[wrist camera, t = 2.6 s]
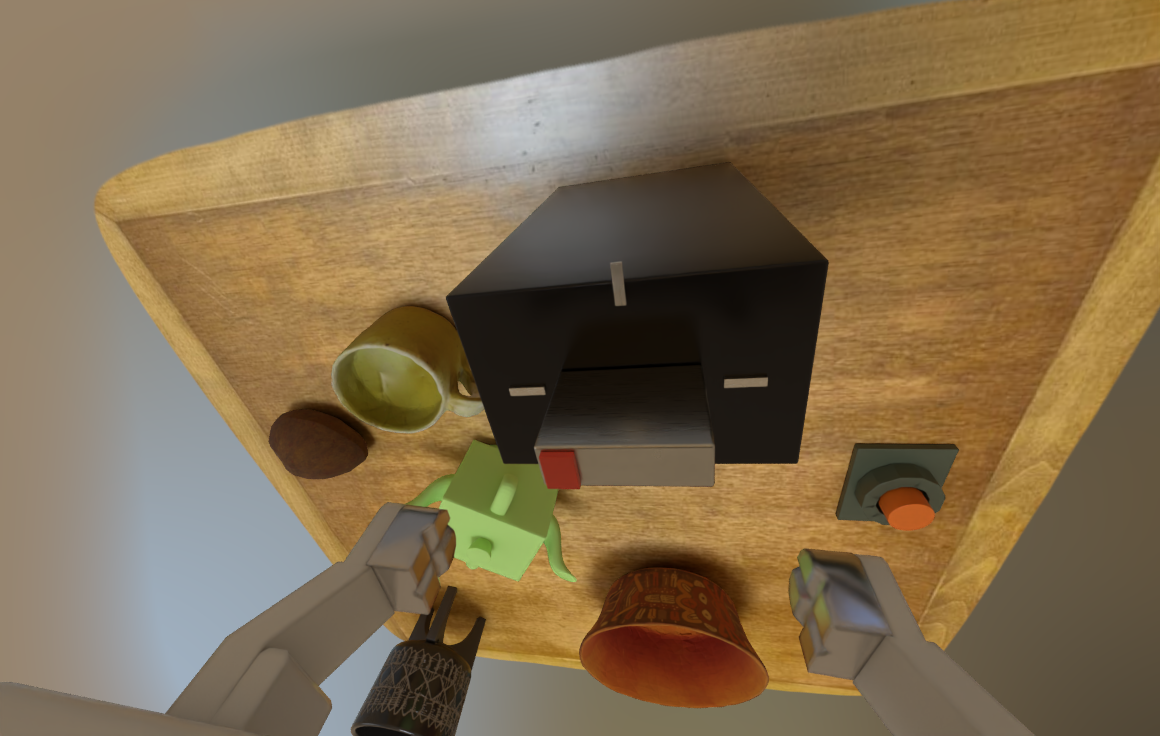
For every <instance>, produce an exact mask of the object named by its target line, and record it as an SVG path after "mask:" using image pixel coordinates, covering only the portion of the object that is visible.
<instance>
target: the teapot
mask: <svg viewBox="0 0 1160 736" xmlns="http://www.w3.org/2000/svg"><path fill="white" fill-rule="evenodd" d="M558 490H559V489H548V488H547V485H545V484H544V481H543V478H542V474H541V471H540V467H539V464H504V463H503V461H502V458H501V455H500V452H499V449H498V446H497V445H487V444H484V443H482V442H479V441H477V440H473V442H472V444H471V445H470V447H469V449H468V451H467V453H466V455H465V457H464V459H463V460H462V462H461V464H460V466H459V468H458V470H457V472H456V474H450V475H445V476H442V477H440V478H438V479H436V480H435V481H434V482H432V483H431V484H430V485H429V486H428V487H427V488H426V489H425V490H424V491H423V492H422V493H421V494H420V495H418V496H417V497H416V498H415V499H414V500H412V501H410V502H408V503H406V504H408V505H414V506H422V507H427V506H428V505H430V504H431V503H434V502H437V501H442V502H441V505H440V508H439V509H446V510H448V513H449V516H450V521H449V523H448V525H449V526H450V527H451V528H452V529H453V530H454V531H455V535H456V549H455V554H454V558H457V559H459V560H462V561H465V562H466V565H467V567H468V568H470V569H477V568H478V567H480V568H483V569H486V570H489V571H491V572H494V573H497V574H499V575H502V576H505V577H507V578H510V579H513V580H516V581H519V580H520V579H521V577H522V576H523V574H524V573H525V571H526V569H527V568H528V566H529V565H530V563H531V561H532V560H533V558H534V557H535V555H536V553H537V552H538V550H539V549H540V547H541V545H542V544H543V543H544V544H545V546H546V548H547V552H548V558H549V563H550V566H551V568H552V570H553V571H554V573H555V574H556V575H557V576H559V577H560V578H562V579H564V580H567V581H570V582H576V581H577V580H576V578H575V577H574V576H573V575H572V574H571V573H570V571H569V570H568V569H567V568H566V566H565V564H564V561H563V558H562V551H561V532H560V527H559V524H558V521H557V519H556V518H555V516H554V515H553V510H554V506H555V502H556V498H557V494H558Z"/></svg>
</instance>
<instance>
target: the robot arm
mask: <svg viewBox="0 0 1160 736" xmlns="http://www.w3.org/2000/svg"><path fill="white" fill-rule="evenodd" d="M449 521H450V516H449V513H448V510H446V509H438V508H430V507H422V506H414V505H408V504H399V503H390V502H387V503H386V504H384V505H383V506H382V507H381V508H380V509H379V511H378V512H377V514H376V515H375V517H374V518H373V519H372V521H371V522H370V524H369V525H368V527H367V528H366V530H365V531H364V533H363V534H362V536H361V537H360V539H359V540H358V542H357V543H356V545H355V546H354V548H353V549H352V551H351V552H350V554H349V555H348V557H347V558H346V560H345V561H344V562H337V563H335V564H334V565H332V566H331V567H329V568H328V569H327V570H325V571H324V572H322V573H320V574H319V575H317V576H316V577H315V578H313V579H312V580H310V581H309V582H307V583H306V584H304V585H303V586H301V587H300V588H298V589H297V590H295V591H294V592H292V593H291V594H289V595H288V596H286V597H285V598H283V599H282V600H280V601H279V602H277V603H276V604H274V605H273V606H272V607H270V608H269V609H267V610H266V611H264V612H263V613H261V614H260V615H258V616H257V617H255V618H254V619H252V620H251V621H250V622H248V623H246V624H245V625H243V626H242V627H240V628H239V629H237V630H236V631H235V632H233V633H232V634H230V635H229V636H227V637H226V638H225V639H224V641H223V642H222V643H221V644H220V646H219V647H218V648H217V649H216V651H215V652H214V653H213V654H212V656H211V657H210V658H209V659H208V661H207V662H206V663H205V665H204V666H203V667H202V668H201V670H200V671H199V672H198V673H197V675H196V676H195V677H194V678H193V679H192V681H191V682H190V683H189V685H188V686H187V687H186V688H185V689H184V691H183V692H182V693H181V694H180V696H179V697H178V698H177V700H176V701H175V702H174V703H173V705H172V706H171V707H170V708H169V710H168V711H167V712H166V713H165V714H163V713H158V712H153V711H148V710H143V709H139V708H133V707H129V706H124V705H120V704H115V703H110V702H105V701H100V700H95V699H91V698H86V697H81V696H76V695H71V694H67V693H62V692H57V691H52V690H47V689H43V688H38V687H34V686H29V685H24V684H19V683H13V682H0V736H318V735H319V733H320V731H321V729H322V726H323V725H324V723H325V721H326V719H327V717H328V715H329V713H330V711H331V709H332V704H331V700H330V699H329V698H328V696H327V695H326V694H325V693H324V692H323V691H322V690H321V688H320V687H319V685H320V684H321V683H322V682H323V681H324V680H325V679H326V678H327V677H328V676H329V675H330V674H332V673H333V672H334V671H335V670H336V669H337V668H338V667H339V666H340V665H341V664H342V663H343V662H344V661H345V660H346V659H347V658H348V657H349V656H350V655H351V654H352V653H354V652H355V651H356V650H357V649H358V648H359V647H360V646H361V645H362V644H363V643H364V642H365V641H366V640H367V639H368V638H369V637H370V636H371V635H372V634H373V633H374V632H375V631H377V629H379V628H380V627H381V626H382V625H383V624H384V623H385V622H386V621H387V620H388V619H389V618H390V617H391V616H392V615H393V614H394V613H395V612H394V611H400V612H409V613H417V614H426V615H429V613H430V611H431V608H432V606H433V604H434V602H435V599H436V597H437V595H438V593H439V590H440V588H441V585H440V580H439V577H440V576H441V575H442V574H443V573H445V572H446V571H447V570H448V569H449V568H450V565H451V563H452V560H453V558H454V554H455V549H456V535H455V531H454V530H453V529H452V528H451V527H450V526H449V525H448V523H449ZM797 559H798V562H799V567H797V568H795V569H793V570H792V572H791V575H790V578H789V599H790V605H791V609H792V613H793V615H794V617H795V618H796V619H797V620H798V621H799V622H800V623H801V625H802V626H803V629H802V631H801V633H800V635H799V640H800V644H801V648H802V651H803V655H804V659H805V663H806V667H807V670H808V672H810V673H815V674H821V675H827V676H832V677H838V678H844V679H849V680H854V681H853V684H854V685H855V686H856V688H857V689H858V690H859V692H860V693H861V694H862V696H863V697H864V698H865V699H866V701H867V702H868V703H869V705H870V706H871V707H872V709H873V710H874V711H875V713H876V714H877V715H878V717H879V718H880V719H881V720H882V722H883V723H884V725H885V726H886V727H887V728H888V730H889V731H890V732H891V734H892V735H893V736H1035V735H1034V734H1033V733H1032V732H1031V731H1030V730H1029V729H1027V728H1026V727H1025V726H1024V725H1023V724H1022V723H1021V722H1020V721H1019V720H1018V719H1017V718H1016V717H1015V716H1013V715H1012V714H1011V713H1010V712H1009V711H1008V710H1007V709H1006V708H1005V707H1004V706H1002V704H1000V703H999V702H998V701H997V700H996V699H995V698H994V697H993V696H992V695H991V694H990V693H988V692H987V691H986V690H985V689H984V688H983V687H982V686H981V685H980V684H979V683H978V682H976V680H974V679H973V678H972V677H971V676H970V675H969V674H968V673H967V672H966V671H965V670H964V669H962V668H961V667H960V666H959V665H958V664H957V663H956V662H955V661H954V660H953V659H952V658H951V657H950V656H948V655H947V654H946V653H945V652H944V651H943V650H942V649H941V648H940V647H939V646H938V645H937V644H935V643H934V642H928V641H926V640H925V638H924V636H923V634H922V632H921V630H920V628H919V626H918V624H917V622H916V620H915V618H914V616H913V614H912V612H911V610H910V608H909V606H908V604H907V602H906V600H905V598H904V596H903V594H902V592H901V590H900V588H899V586H898V584H897V582H896V580H895V578H894V576H893V574H892V572H891V570H890V568H889V566H888V564H887V562H886V561H885V560H884V559H883V558H882V557H878V556H870V555H858V554H853V553H847V552H836V551H826V550H815V549H803V550H801V551H800V553H799V555H798V557H797Z"/></svg>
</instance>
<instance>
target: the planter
mask: <svg viewBox="0 0 1160 736" xmlns="http://www.w3.org/2000/svg"><path fill="white" fill-rule="evenodd" d="M456 593H457V588H455V587H450V586H448V588H447V591H446V593H445V595H444V597H443V600H442V602H441V604H440V607H439V609H438V611H437V613H436V616H435V618H434V620H433V623H432V625H431V627H430V622H431V618H432V615H433V612H434V609H433V608H431V611H430V613H429V615H426V614H421V615H420V617H419V619H418V621H417V623H416V625H415V627H414V630H413V632H412V634H411V636H410V638H409V640H408V641H404V642H401V643H399V644H397V645H396V646H395V647H394V648H393V649H392V651H391V652H390V654H389V656H388V658H387V660H386V662H385V664H384V666H383V668H382V670H381V671H380V673H379V675H378V677H377V679H376V681H375V683H374V685H373V687H372V689H371V690H370V692H369V694H368V696H367V698H366V700H365V702H364V704H363V706H362V708H361V710H360V712H359V713H358V715H357V717H356V719H355V721H354V723H353V725H352V727H351V733H352V735H353V736H455V733H456V730H457V726H458V722H459V719H460V715H461V712H462V708H463V704H464V701H465V697H466V694H467V690H468V686H469V683H470V679H471V670H472V667H473V663H474V660H475V656H476V653H477V649H478V646H479V642H480V639H481V635H482V632H483V628H484V625H485V621H486V619H484V618H482V617H479V618H477V619H476V621H475V624H474V626H473V628H472V630H471V631H470V633H469V634H468V636H467V637H466V638H465V639H464V640H463V641H462V642H460V643H458V644H455V645H446V644H444V643H443V638H444V632H445V627H446V623H447V619H448V616H449V613H450V609H451V606H452V604H453V601H454V598H455V595H456ZM429 628H430V630H429Z"/></svg>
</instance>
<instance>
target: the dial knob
mask: <svg viewBox="0 0 1160 736" xmlns="http://www.w3.org/2000/svg"><path fill="white" fill-rule="evenodd" d="M534 450H535V453H536V457H537V460H538V464H539V467H540V471H541V474H542V478H543V481H544V484H545V485H547V488H548V489H580V487H581V485H586V486H690V487H712V486H714V483H715V442H714V436H713V430H712V423H711V417H710V411H709V404H708V398H707V392H706V386H705V379H704V373H703V367H702V366H701V365H688V366H667V367H647V368H627V369H607V370H587V371H567V372H560V374H559V377H558V380H557V383H556V386H555V388H554V391H553V394H552V397H551V400H550V403H549V406H548V408H547V411H546V414H545V417H544V420H543V423H542V426H541V429H540V431H539V434H538V437H537V440H536V443H535V446H534Z"/></svg>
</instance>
